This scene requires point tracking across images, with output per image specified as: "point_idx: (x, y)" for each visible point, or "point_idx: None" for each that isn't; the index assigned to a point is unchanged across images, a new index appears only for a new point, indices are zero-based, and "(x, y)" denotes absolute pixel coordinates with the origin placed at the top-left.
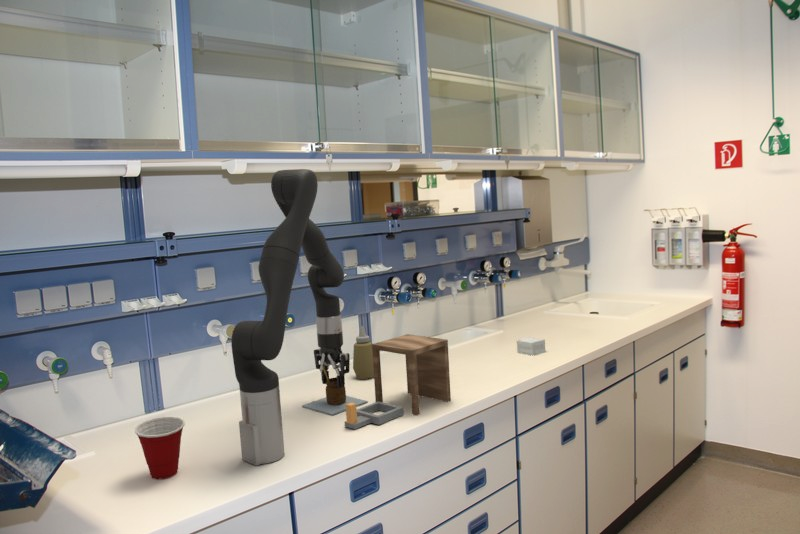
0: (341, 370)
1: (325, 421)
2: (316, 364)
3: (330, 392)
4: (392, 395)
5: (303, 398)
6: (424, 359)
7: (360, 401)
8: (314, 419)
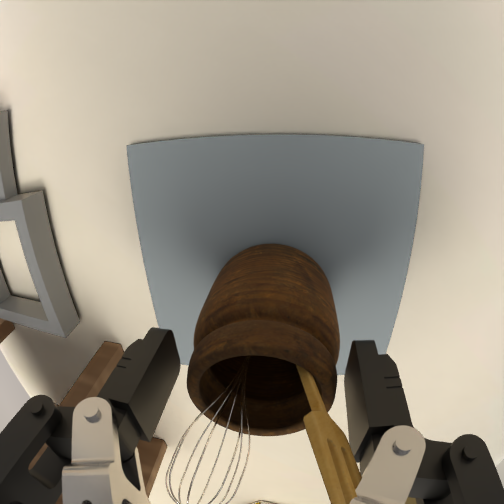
0: (32, 425)
1: (98, 75)
2: (481, 477)
3: (239, 283)
4: (179, 424)
5: (497, 257)
6: (61, 501)
7: (186, 349)
8: (164, 46)
